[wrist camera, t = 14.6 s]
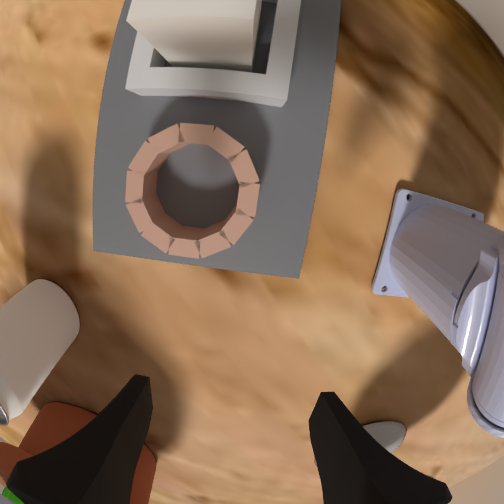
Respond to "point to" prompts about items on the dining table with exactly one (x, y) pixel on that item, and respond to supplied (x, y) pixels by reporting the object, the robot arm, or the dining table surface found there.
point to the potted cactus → (57, 430)
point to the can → (32, 342)
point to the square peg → (200, 31)
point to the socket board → (210, 170)
